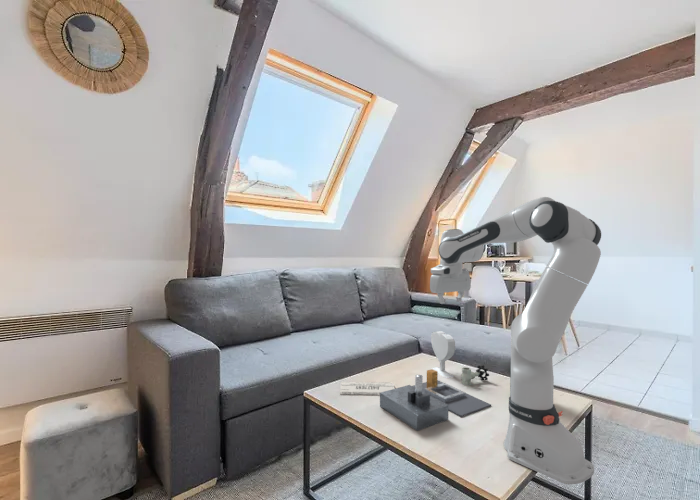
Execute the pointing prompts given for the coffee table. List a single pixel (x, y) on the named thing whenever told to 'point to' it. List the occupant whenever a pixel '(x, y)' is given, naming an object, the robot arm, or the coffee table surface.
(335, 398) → the coffee table surface
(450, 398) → the square frame with handle
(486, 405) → the mat
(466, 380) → the valve
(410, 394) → the toggle switch
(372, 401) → the coffee table surface
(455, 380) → the coffee table surface
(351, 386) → the newspaper
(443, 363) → the heart sculpture
